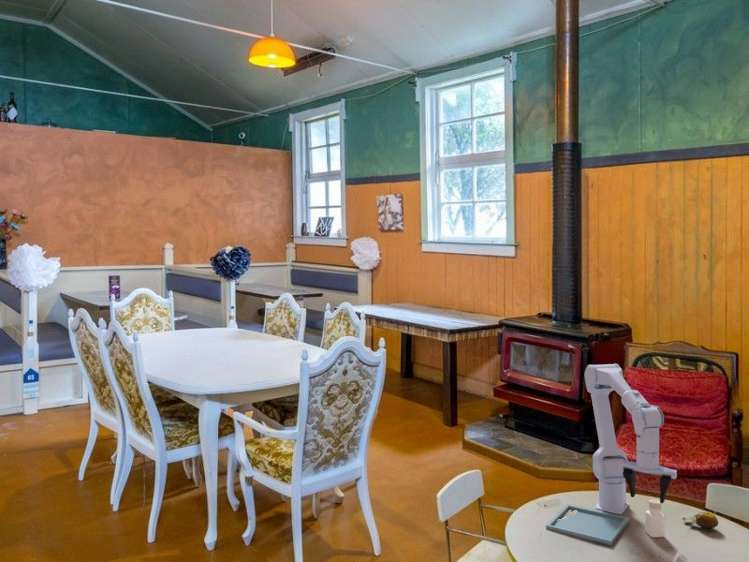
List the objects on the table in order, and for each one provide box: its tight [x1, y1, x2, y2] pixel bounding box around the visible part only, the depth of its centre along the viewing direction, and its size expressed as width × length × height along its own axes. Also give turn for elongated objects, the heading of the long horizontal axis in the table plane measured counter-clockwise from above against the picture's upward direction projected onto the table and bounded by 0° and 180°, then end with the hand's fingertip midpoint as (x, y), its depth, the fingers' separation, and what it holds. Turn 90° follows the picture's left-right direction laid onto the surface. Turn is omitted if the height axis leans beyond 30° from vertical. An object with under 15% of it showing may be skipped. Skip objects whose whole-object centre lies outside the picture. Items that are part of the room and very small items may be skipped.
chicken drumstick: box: [682, 511, 719, 530], centre depth 183 cm, size 8×8×4 cm
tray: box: [545, 504, 629, 547], centre depth 183 cm, size 18×18×2 cm
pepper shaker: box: [644, 499, 665, 538], centre depth 177 cm, size 4×4×10 cm
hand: (647, 498), depth 176 cm, fingers open, 7 cm apart
